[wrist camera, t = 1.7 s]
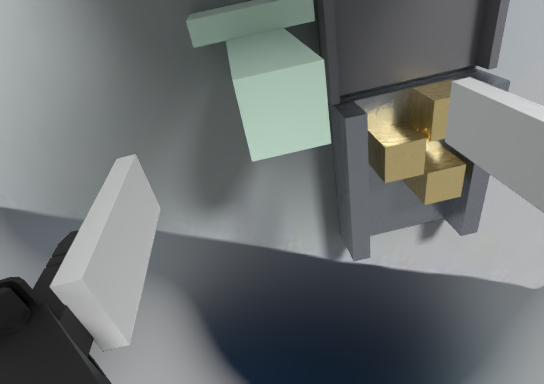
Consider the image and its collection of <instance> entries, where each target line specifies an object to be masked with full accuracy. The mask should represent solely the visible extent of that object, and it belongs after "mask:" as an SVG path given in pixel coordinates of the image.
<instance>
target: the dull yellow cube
mask: <svg viewBox="0 0 544 384" xmlns="http://www.w3.org/2000/svg"><path fill="white" fill-rule="evenodd" d="M452 81H455V80H454V79H449V80H444V81H440V82H435V83H431V84H427V85H422V86H418V87H413V88H412V100H411V117H410V125H411V126H412V127H413V128H415V129H416V130H417V131H419V132H420V133H421V134H422V135H424V136H425V137H426V138H427V139H428V140H429V141H430V142H432V141H437V140H441V139H445V136H446V127H447V119H448V110H449V102H450V94H451V85H452Z"/></svg>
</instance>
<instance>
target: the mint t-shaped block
mask: <svg viewBox="0 0 544 384" xmlns="http://www.w3.org/2000/svg"><path fill="white" fill-rule="evenodd" d="M313 21H315V15H314V5H313V0H251V1H247V2H242V3H238V4H233V5H229V6H224V7H220V8H215V9H210V10H206V11H201V12H197V13H192V14H190V15H189V16H188V18H187V20H186V24H187V27H188V31H189V34H190V38H191V41H192V44H193V48H196V47H200V46H205V45H209V44H214V43H218V42H223V41H226V47H227V53H228V59H229V64H230V70H231V76H232V81H233V85H234V89H235V94H236V98H237V102H238V106H239V110H240V114H241V118H242V122H243V127H244V131H245V135H246V139H247V143H248V147H249V151H250V155H251V159H252V162H253V161H258V160H262V159H266V158H271V157H275V156H279V155H284V154H288V153H292V152H297V151H301V150H305V149H310V148H314V147H318V146H323V145H327V144H331V134H330V122H329V111H328V99H327V88H326V76H325V65H324V59H322V58H321V57H320V56H319V55H317V54H316V53H315V52H314V51H312V50H311V49H310V48H308V47H307V46H306V45H305V44H303V43H302V42H301V41H299V40H298V39H297V38H296V37H294V36H293V35H292V34H291V33H289V32H288V31H287V30H285V29H284V28H286V27H290V26H295V25H299V24H304V23H308V22H313Z"/></svg>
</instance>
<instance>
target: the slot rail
mask: <svg viewBox="0 0 544 384" xmlns="http://www.w3.org/2000/svg"><path fill="white" fill-rule="evenodd" d="M468 77H471V78H474V79H476V80H479V81H481V82H484V83H486V84H489V85H491V86H494V87H496V88H499V89H501V90H504V91H506V92H508V89H509V85H510V81H509V80H506V79H503V78H501V77H498V76H495V75H492V74H490V73H487V72H484V71H481V70H479V69H476V68H471V69H467V70H462V71H458V72H454V73H449V74H445V75H440V76H436V77H432V78H427V79H423V80H418V81H414V82H410V83H405V84H401V85H396V86H392V87H388V88H383V89H379V90H374V91H370V92H366V93H361V94H357V95H353V96H348V97H344V98H340V103H339V104H335V105H331V104H330V103H329V105H330V117H331V128H332V140H333V152H334V164H335V176H336V187H337V199H338V211H339V223H340V234H341V236H342V238H343V240H344V242H345V244H346V247H347V249H348V251H349V253H350V255H351V257H352V259H353V261H358V260H362V259H366V258H370V236H371V235H375V234H379V233H383V232H387V231H392V230H396V229H400V228H404V227H409V226H413V225H417V224H421V223H425V222H430V221H434V220H438V219H442V218H444V219H445V220H446V221H447V222H448V223H449V224H450V225H451V226H452V227H453V228H454V229H455V230H456V231H457V232H458V233H459V234H460V236H463V235H467V234H471V233H475V232H477V230H478V226H479V221H480V217H481V212H482V207H483V203H484V198H485V194H486V189H487V185H488V180H489V176H490V174H489V173H488V172H486V171H485V170H483V169H482V168H481V167H479V166H478V165H476V164H475V163H474V162H472V161H471V160H469V159H468V158H467V157H465V156H464V155H462V154H461V153H460V152H458V151H457V150H456V149H454V148H453V147H451V146H450V145H449V144H447V143H446V142H445V139H441V140H437V141H432V142H430V141H429V140H428V139H427V144H426V151H429V150H433V149H438V148H442V147H444V148H445V149H447V150H448V151H449V152H451V153H452V154H453V155H455V156H456V157H457V158H459V159H460V160H461V161H463V162H464V163H465V164H466V169H465V175H464V181H463V187H462V192H461V197H457V198H452V199H448V200H444V201H440V202H436V203H431V204H427V205H424V204H423V203H422V202H421V201H420V200H419V198H418V197H417V196H416V195H415V194H414V193H413V192H412V191H411V190H410V189H409V187H408V186H407V178H406V179H401V180H397V181H393V182H388V183H384V182H383V180H382V179H381V178H380V177H379V176H378V174H377V173H376V172H375V171H374V169H373V168H372V167H371V166H370V164H369V131H370V130H375V129H379V128H383V127H388V126H392V125H396V124H401V123H405V122H407V123H408V124H409V125H410V117H411V100H412V88H413V87H418V86H422V85H427V84H431V83H435V82H440V81H444V80H449V79H454V80H459V79H464V78H468Z"/></svg>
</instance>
